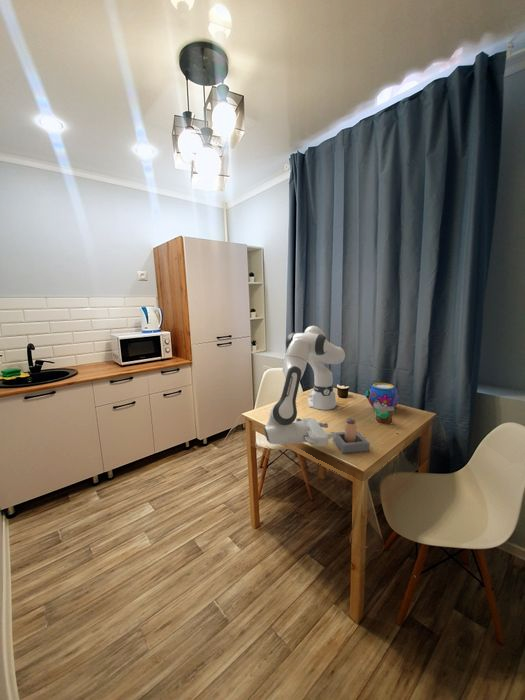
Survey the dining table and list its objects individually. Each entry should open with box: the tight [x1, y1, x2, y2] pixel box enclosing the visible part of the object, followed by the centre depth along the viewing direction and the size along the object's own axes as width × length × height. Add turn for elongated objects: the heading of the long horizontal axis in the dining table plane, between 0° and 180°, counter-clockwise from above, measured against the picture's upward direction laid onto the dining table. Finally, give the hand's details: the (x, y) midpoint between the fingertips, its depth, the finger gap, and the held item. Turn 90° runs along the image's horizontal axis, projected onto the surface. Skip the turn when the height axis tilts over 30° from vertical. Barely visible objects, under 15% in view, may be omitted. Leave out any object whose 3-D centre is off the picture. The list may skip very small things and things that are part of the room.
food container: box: [373, 400, 395, 425], centre depth 149 cm, size 12×6×10 cm, turn 19°
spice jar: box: [344, 417, 357, 443], centre depth 125 cm, size 5×5×12 cm
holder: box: [332, 430, 370, 455], centre depth 126 cm, size 12×12×4 cm
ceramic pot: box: [365, 382, 400, 409], centre depth 166 cm, size 18×18×15 cm
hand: (331, 429), depth 123 cm, fingers open, 8 cm apart
